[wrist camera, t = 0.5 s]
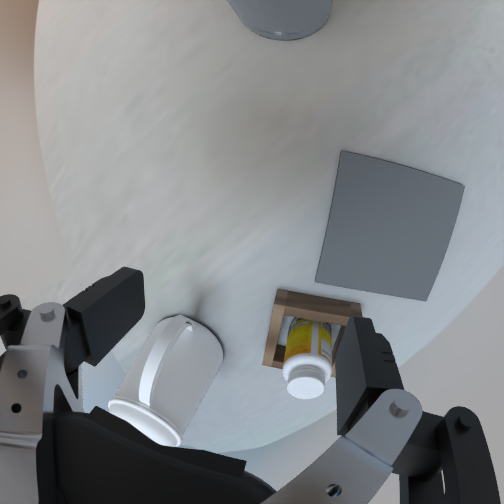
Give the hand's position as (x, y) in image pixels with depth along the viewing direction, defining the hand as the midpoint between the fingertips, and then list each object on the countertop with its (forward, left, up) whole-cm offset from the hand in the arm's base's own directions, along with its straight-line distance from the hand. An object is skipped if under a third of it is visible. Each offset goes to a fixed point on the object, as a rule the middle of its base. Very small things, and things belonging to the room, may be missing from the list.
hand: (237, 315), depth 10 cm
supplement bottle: (+16, +6, -19) cm, 25 cm away
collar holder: (+16, +6, -19) cm, 25 cm away
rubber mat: (+2, +12, -19) cm, 22 cm away
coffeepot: (+24, -10, -19) cm, 32 cm away
